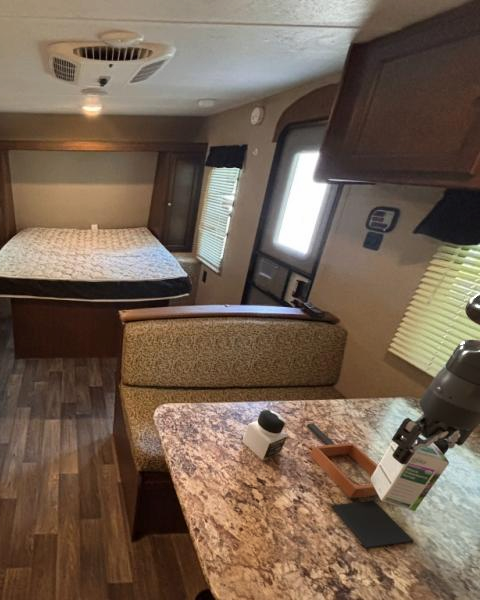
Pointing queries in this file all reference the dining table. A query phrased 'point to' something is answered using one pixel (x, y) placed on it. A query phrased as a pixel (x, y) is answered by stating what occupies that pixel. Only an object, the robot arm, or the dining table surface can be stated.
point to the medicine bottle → (266, 435)
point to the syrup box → (408, 476)
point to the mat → (371, 524)
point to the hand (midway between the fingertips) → (415, 458)
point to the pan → (337, 476)
